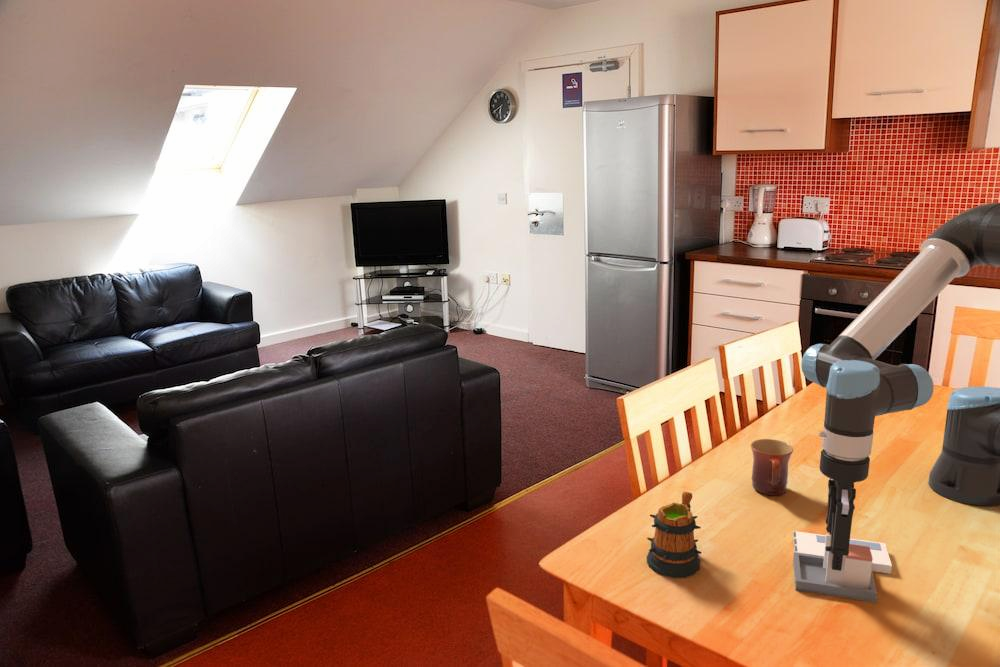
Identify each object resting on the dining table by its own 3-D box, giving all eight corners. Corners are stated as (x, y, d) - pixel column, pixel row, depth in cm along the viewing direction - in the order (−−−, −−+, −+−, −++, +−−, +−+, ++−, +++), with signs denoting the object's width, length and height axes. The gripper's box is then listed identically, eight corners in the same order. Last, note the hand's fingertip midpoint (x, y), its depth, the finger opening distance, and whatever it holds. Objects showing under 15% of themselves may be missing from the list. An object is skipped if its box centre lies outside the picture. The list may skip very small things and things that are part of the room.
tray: (868, 571, 134) (869, 562, 133) (876, 602, 125) (877, 593, 124) (793, 560, 138) (793, 552, 137) (795, 590, 129) (796, 580, 128)
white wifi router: (884, 550, 140) (885, 542, 140) (890, 573, 133) (892, 565, 132) (793, 538, 145) (793, 530, 145) (794, 559, 138) (795, 551, 137)
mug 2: (745, 479, 170) (748, 437, 168) (786, 482, 169) (789, 440, 166) (752, 504, 159) (755, 459, 156) (795, 507, 157) (799, 462, 155)
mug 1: (691, 585, 131) (694, 525, 128) (636, 569, 136) (638, 511, 133) (712, 550, 142) (716, 495, 139) (661, 537, 147) (663, 483, 144)
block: (865, 577, 131) (869, 546, 130) (868, 589, 127) (872, 558, 126) (828, 571, 133) (831, 541, 131) (830, 584, 129) (834, 553, 128)
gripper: (817, 431, 134) (806, 547, 140) (825, 470, 118) (812, 600, 124) (863, 435, 132) (850, 553, 138) (877, 476, 116) (862, 608, 122)
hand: (832, 575), depth 131 cm, fingers open, 4 cm apart
